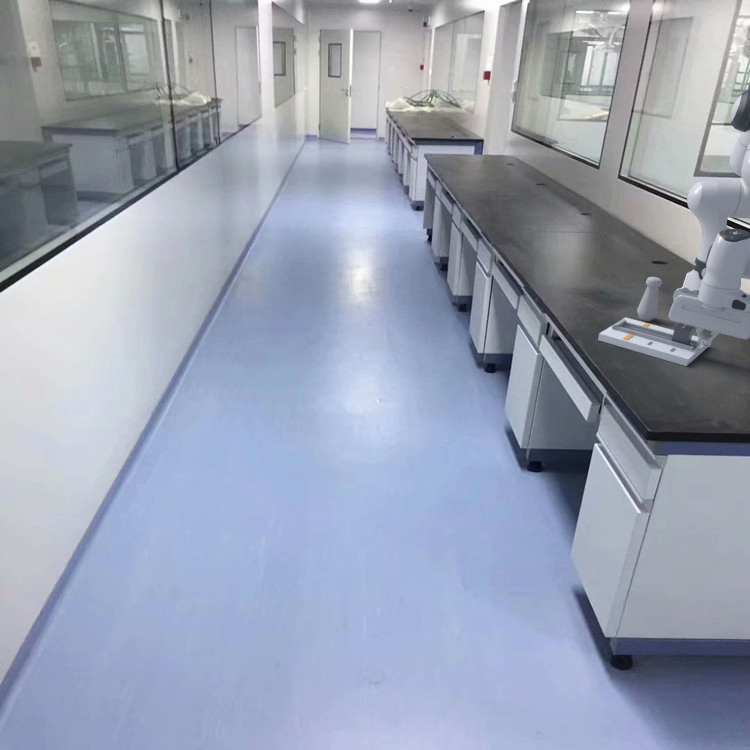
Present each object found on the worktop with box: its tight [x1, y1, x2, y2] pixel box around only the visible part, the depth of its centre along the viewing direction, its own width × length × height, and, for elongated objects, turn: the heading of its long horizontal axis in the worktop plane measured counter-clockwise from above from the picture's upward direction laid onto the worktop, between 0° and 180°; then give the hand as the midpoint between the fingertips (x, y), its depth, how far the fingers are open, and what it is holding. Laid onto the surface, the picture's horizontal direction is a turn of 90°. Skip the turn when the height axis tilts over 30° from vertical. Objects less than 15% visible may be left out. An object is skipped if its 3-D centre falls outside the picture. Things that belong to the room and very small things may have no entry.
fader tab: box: [672, 322, 695, 345], centre depth 167 cm, size 3×4×5 cm
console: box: [597, 317, 709, 367], centre depth 173 cm, size 18×24×4 cm
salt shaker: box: [636, 276, 663, 322], centre depth 188 cm, size 6×6×13 cm
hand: (703, 344), depth 164 cm, fingers closed
